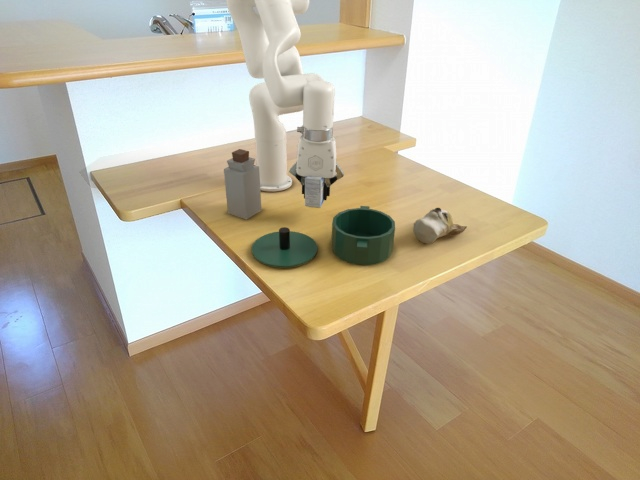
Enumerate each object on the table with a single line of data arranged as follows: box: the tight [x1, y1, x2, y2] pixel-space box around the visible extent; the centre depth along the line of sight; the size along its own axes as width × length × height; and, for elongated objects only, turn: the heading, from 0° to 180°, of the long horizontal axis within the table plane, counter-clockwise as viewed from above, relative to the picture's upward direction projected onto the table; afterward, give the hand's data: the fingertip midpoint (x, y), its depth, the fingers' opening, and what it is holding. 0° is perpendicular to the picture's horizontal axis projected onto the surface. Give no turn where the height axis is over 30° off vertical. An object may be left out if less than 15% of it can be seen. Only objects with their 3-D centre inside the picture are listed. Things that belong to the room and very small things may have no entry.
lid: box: [251, 226, 318, 269], centre depth 117 cm, size 16×16×6 cm
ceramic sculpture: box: [413, 207, 468, 245], centre depth 124 cm, size 11×9×15 cm
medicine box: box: [304, 176, 325, 209], centre depth 128 cm, size 8×4×9 cm, turn 169°
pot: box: [331, 205, 396, 266], centre depth 119 cm, size 15×21×8 cm
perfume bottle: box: [223, 148, 262, 220], centre depth 132 cm, size 7×7×18 cm
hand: (315, 196), depth 130 cm, fingers closed on medicine box, 4 cm apart
